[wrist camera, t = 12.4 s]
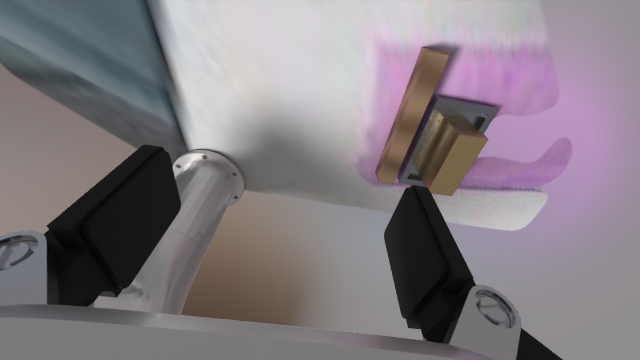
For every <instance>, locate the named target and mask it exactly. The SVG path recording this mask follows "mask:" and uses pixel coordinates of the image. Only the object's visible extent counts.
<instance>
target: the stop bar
mask: <svg viewBox="0 0 640 360" xmlns="http://www.w3.org/2000/svg"><path fill="white" fill-rule="evenodd" d="M487 140H488V138H487V137H486V136H485V135H484V134H483V133H481V132H480V131H479V130H478V129H477V128H476V127H475V126H474V125H473V124H472V123H471V122H470V121H469V120H466V119H460V118H454V117H448V116H442V118H441V120H440V122H439V124H438V126H437V128H436V130H435V132H434V134H433V136H432V138H431V140H430V142H429V145H428V147H427V149H426V151H425V153H424V155H423V157H422V159H421V161H420V163H419V165H418V167H417V169H416V171H417V173H418V175H419V177H420V179H421V181H422V183H423V185H424V187H428V189H429V190H430V192H431V193H434V194H441V195H448V196H452V195H453V194H454V192H455V190H456V189H457V187H458V186H459V184H460V183H461V181H462V180H463V178H464V176H465V175H466V173H467V172H468V170H469V169H470V167H471V165H472V164H473V162H474V161H475V159H476V158H477V156H478V154H479V153H480V151H481V150H482V148H483V147H484V145H485V144H486V142H487Z"/></svg>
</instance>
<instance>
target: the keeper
mask: <svg viewBox="0 0 640 360" xmlns="http://www.w3.org/2000/svg"><path fill="white" fill-rule="evenodd" d="M498 110H499V109H497V108H496V107H494V106H492V105H487V104H481V103H476V102H470V101H465V100H459V99H454V98H448V97H443V96H437V95H434V97H433V99H432V102H431V104H430V106H429V108H428V111H427V113H426V115H425V117H424V120H423V122H422V124H421V126H420V128H419V131H418V133H417V135H416V137H415V140H414V142H413V144H412V146H411V149H410V151H409V153H408V155H407V157H406V160H405V162H404V164H403V166H402V169H401V171H400V173H399V175H398V180H399V183H405V184H412V185H418V186H424V185H423V183H422V181H421V179H420V177H419V175H418V173H417V171H416V169H417V167H418V165H419V163H420V161H421V159H422V157H423V155H424V153H425V151H426V149H427V147H428V145H429V142H430V140H431V138H432V136H433V134H434V132H435V130H436V128H437V126H438V124H439V122H440V120H441V118H442V116H448V117H454V118H460V119H466V120H469V121H470V122H471V123H472V124H473V125H474V126H475V127H476V128H477V129H478V130H479V131H480V132H481V133H483V134H484V132H485V131H486V129H487V127H488V126H489V124H490V123H491V121H492V120H493V118H494V116H495V115H496V113H497V112H498Z"/></svg>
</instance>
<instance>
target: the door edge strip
mask: <svg viewBox="0 0 640 360" xmlns="http://www.w3.org/2000/svg"><path fill="white" fill-rule="evenodd" d="M448 58H449V55H448V54H446V53H444V52H442V51H440V50H435V49H430V48H425V47H422V48H421V51H420V54H419V56H418V59H417V62H416V64H415V67H414V70H413V72H412V75H411V78H410V80H409V83H408V86H407V88H406V91H405V94H404V96H403V99H402V102H401V104H400V107H399V110H398V113H397V115H396V118H395V121H394V123H393V126H392V129H391V131H390V134H389V137H388V139H387V142H386V145H385V147H384V150H383V153H382V155H381V158H380V161H379V163H378V166H377V169H376V171H375V172H376V176H377V180H378V182H380V183H387V184H393V182H394V180H395V178H396V175H397V173H398V171H399V168H400V166H401V164H402V162H403V159H404V157H405V155H406V153H407V150H408V148H409V146H410V144H411V141H412V139H413V137H414V135H415V132H416V130H417V128H418V126H419V123H420V121H421V119H422V116H423V114H424V112H425V110H426V107H427V105H428V103H429V101H430V98H431V96H432V94H433V92H434V89H435V87H436V85H437V83H438V80H439V78H440V76H441V73H442V71H443V69H444V67H445V64H446V62H447V60H448Z"/></svg>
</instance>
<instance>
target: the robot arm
mask: <svg viewBox="0 0 640 360" xmlns="http://www.w3.org/2000/svg"><path fill="white" fill-rule="evenodd" d="M244 188H245V182H244V178H243V175H242V173H241V171H240V170H239V169H238V168H237V166H236V165H235V164H234V163H233V162H231V161H230V160H229V159H227V158H226V157H224V156H222V155H220V154H218V153H215V152H212V151H206V150H193V151H189V152H186V153H184V154H183V155H181V156H180V157H179V158H178V159H177V160H176V161H175V163H174V165H173V167H172V163H171V159H170V155H169V153H168V152H166V151H165V150H164V148H162V147H159V146H152V145H143V146H141V147H140V148H139V149H138V150H137V151H135V152H134V153H133V154H132V155H131V156H129V157H128V158H127V159H126V160H125V161H123V162H122V163H121V164H120V165H119V166H117V167H116V168H115V169H114V170H113V171H112V172H110V173H109V174H108V175H107V176H106V177H104V178H103V179H102V180H101V181H100V182H99V183H97V184H96V185H95V186H94V187H93V188H91V189H90V190H89V191H88V192H87V193H85V194H84V195H83V196H82V197H81V198H79V199H78V200H77V201H76V202H75V203H73V204H72V205H71V206H70V207H69V208H67V209H66V210H65V211H64V212H63V213H62V214H60V215H59V216H58V217H57V218H56V219H54V220H53V221H52V222H51V223H50V224H48V225H47V227H48V228H49V230H48V231H47V232H46V233H45V234H44V235H43V234H42V233H40V232H36V231H19V232H14V233H9V234H6V235H3V236H0V360H562V359H561V358H560V357H558V356H557V355H556V354H554V353H553V352H552V351H551V350H549V349H548V348H547V347H545V346H544V345H543V344H541V343H540V342H539V341H538V340H536V339H535V338H534V337H532V336H531V335H530V334H528V333H527V332H526V331H524V330H523V329H522V328H521V319H520V316H519V314H518V312H517V310H516V308H515V307H514V305H513V304H512V303H511V302H510V301H509V300H508V299H507V298H506V297H505V296H504V295H503V294H501V293H500V292H499V291H497V290H495V289H493V288H491V287H488V286H485V285H476V284H475V283H474V280H473V276H472V274H471V272H470V270H469V268H468V266H467V264H466V262H465V260H464V258H463V256H462V254H461V252H460V250H459V249H458V246H457V244H456V242H455V241H454V238H453V236H452V234H451V233H450V230H449V228H448V226H447V225H446V222H445V220H444V218H443V216H442V214H441V212H440V210H439V208H438V206H437V204H436V202H435V200H434V198H433V196H432V194H431V192H430V190H429V189H428V187H424V186H418V185H412V186H411V187H410V188H406V189H405V191H404V193H403V195H402V197H401V199H400V201H399V203H398V205H397V207H396V209H395V211H394V214H393V216H392V218H391V220H390V222H389V224H388V226H387V228H386V230H385V233H384V239H385V244H386V248H387V252H388V257H389V262H390V266H391V271H392V275H393V279H394V283H395V289H396V293H397V297H398V302H399V307H400V311H401V314H402V317H403V318H405V319H406V321H407V325H408V328H414V329H421V331H422V335H423V337H424V338H423V340H422V341H421V340H413V339H404V338H397V337H388V336H381V335H370V334H362V333H352V332H343V331H333V330H323V329H314V328H304V327H294V326H285V325H274V324H264V323H254V322H245V321H235V320H224V319H214V318H204V317H194V316H183V315H180V314H181V311H182V308H183V305H184V302H185V299H186V297H187V294H188V291H189V289H190V286H191V284H192V282H193V279H194V277H195V275H196V273H197V270H198V268H199V266H200V264H201V262H202V259H203V257H204V255H205V253H206V251H207V248H208V247H209V244H210V242H211V240H212V238H213V236H214V234H215V231H216V229H217V227H218V225H219V223H220V221H221V219H222V217H223V214H224V212H225V210H226V208H227V206H230V205H232V204H234V203H236V202H237V201H238V200H239V199H240V198H241V196H242V194H243V192H244Z"/></svg>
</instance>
